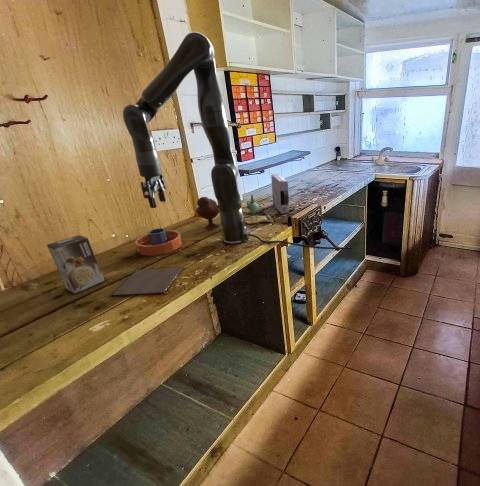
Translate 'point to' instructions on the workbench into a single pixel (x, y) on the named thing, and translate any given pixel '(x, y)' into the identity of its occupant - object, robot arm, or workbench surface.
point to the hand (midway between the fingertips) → (158, 204)
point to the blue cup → (157, 236)
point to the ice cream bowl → (207, 210)
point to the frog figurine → (255, 219)
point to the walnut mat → (148, 282)
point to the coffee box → (76, 263)
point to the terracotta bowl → (148, 250)
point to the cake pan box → (280, 193)
